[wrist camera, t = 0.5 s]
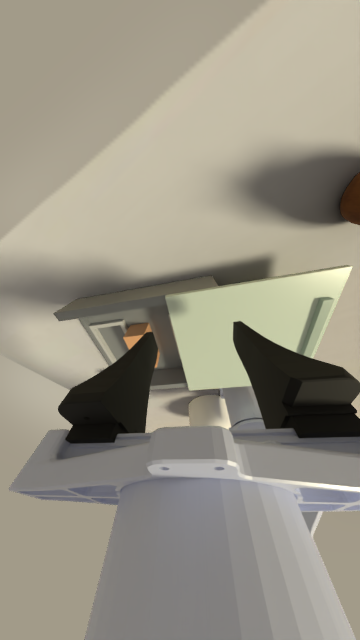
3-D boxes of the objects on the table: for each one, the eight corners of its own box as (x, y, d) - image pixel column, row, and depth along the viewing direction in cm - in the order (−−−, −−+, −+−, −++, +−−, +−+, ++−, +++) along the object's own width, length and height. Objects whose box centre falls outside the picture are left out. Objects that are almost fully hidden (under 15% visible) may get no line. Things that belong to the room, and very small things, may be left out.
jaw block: (159, 353, 26) (157, 367, 24) (143, 355, 27) (139, 369, 24) (148, 322, 23) (143, 334, 20) (130, 325, 23) (123, 337, 21)
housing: (217, 363, 29) (222, 384, 25) (121, 373, 31) (112, 393, 28) (211, 275, 20) (218, 286, 16) (76, 299, 22) (53, 313, 18)
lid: (300, 378, 23) (305, 385, 22) (189, 387, 26) (189, 393, 25) (346, 265, 14) (359, 267, 13) (165, 295, 16) (164, 299, 15)
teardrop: (180, 406, 38) (178, 469, 28) (209, 389, 34) (219, 457, 23) (209, 420, 42) (216, 480, 32) (239, 405, 37) (259, 471, 27)
